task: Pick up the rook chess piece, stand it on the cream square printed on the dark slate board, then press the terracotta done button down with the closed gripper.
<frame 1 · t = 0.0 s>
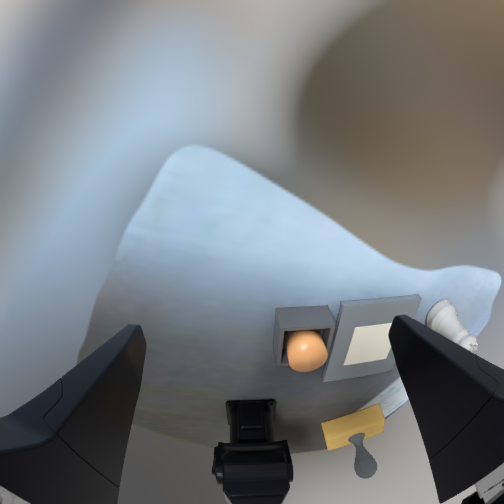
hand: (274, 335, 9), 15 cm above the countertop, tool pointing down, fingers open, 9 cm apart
button housing: (299, 327, 28), on the countertop
rook chess piece: (437, 311, 29), on the countertop
done button: (306, 350, 24), point 4 cm above the countertop, slide at 0.0 cm
rubber stamp: (350, 419, 38), on the countertop
slate board: (369, 339, 29), on the countertop
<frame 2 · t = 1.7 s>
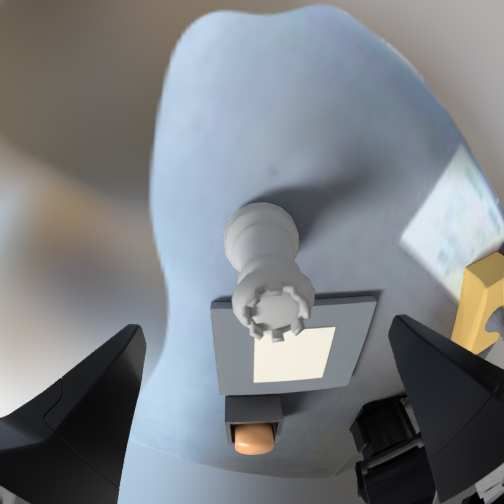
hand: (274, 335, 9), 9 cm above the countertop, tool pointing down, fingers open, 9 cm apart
button housing: (252, 409, 25), on the countertop
rook chess piece: (259, 234, 17), on the countertop
done button: (254, 437, 22), point 3 cm above the countertop, slide at 0.0 cm
rubber stamp: (473, 298, 21), on the countertop
slate board: (290, 350, 21), on the countertop
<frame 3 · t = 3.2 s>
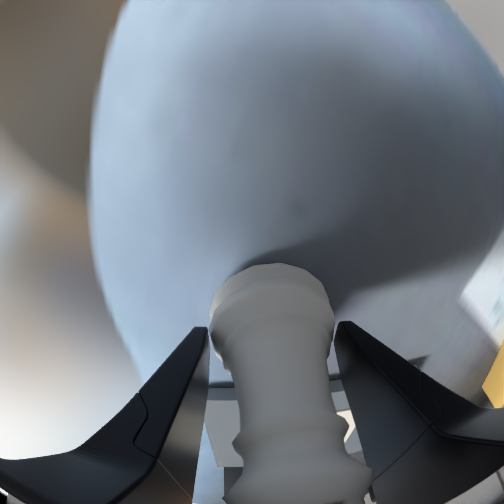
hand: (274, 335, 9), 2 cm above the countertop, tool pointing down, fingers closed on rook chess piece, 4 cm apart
button housing: (255, 472, 18), on the countertop
rook chess piece: (268, 306, 10), on the countertop, touching gripper
slate board: (305, 427, 15), on the countertop
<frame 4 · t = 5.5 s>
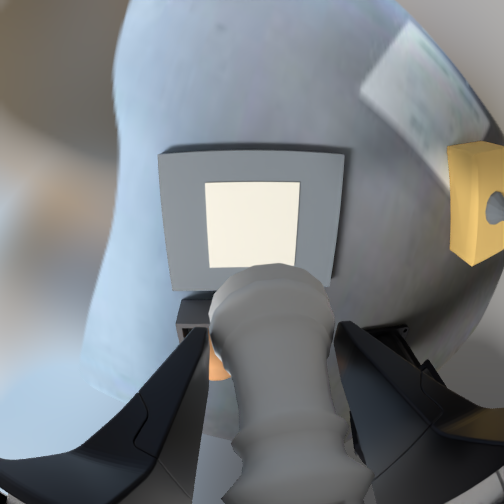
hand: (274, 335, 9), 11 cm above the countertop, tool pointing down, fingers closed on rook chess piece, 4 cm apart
button housing: (215, 324, 23), on the countertop
rook chess piece: (268, 306, 10), point 10 cm above the countertop, touching gripper
done button: (213, 354, 20), point 3 cm above the countertop, slide at 0.0 cm
rubber stamp: (466, 194, 19), on the countertop
slate board: (251, 222, 19), on the countertop
when the fingers open (4 cm above the countertop, at t = 7.6 s): rook chess piece drops 1 cm, resting on slate board.
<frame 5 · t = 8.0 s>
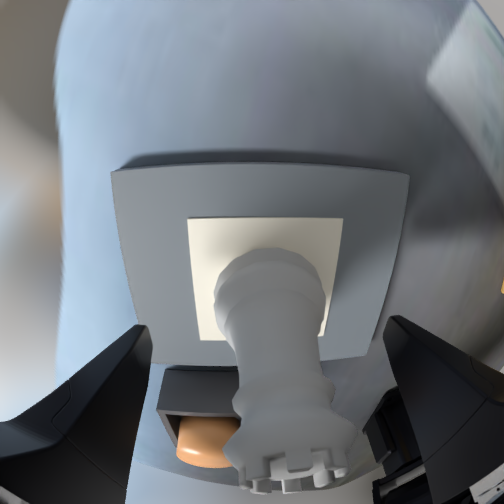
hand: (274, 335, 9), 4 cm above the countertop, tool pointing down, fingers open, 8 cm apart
button housing: (212, 395, 16), on the countertop
rook chess piece: (267, 288, 12), point 1 cm above the countertop, touching slate board
done button: (209, 441, 13), point 3 cm above the countertop, slide at 0.0 cm
slate board: (263, 276, 12), on the countertop
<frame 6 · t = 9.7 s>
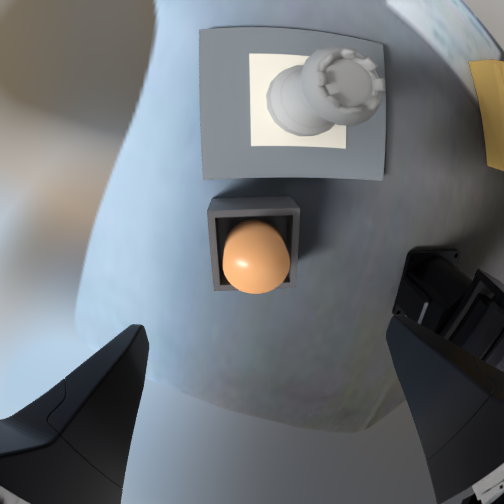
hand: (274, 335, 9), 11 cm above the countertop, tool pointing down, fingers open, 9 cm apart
button housing: (252, 233, 19), on the countertop
rook chess piece: (301, 102, 15), point 1 cm above the countertop, touching slate board
done button: (255, 255, 16), point 4 cm above the countertop, slide at 0.0 cm
rubber stamp: (493, 112, 15), on the countertop
slate board: (297, 100, 15), on the countertop
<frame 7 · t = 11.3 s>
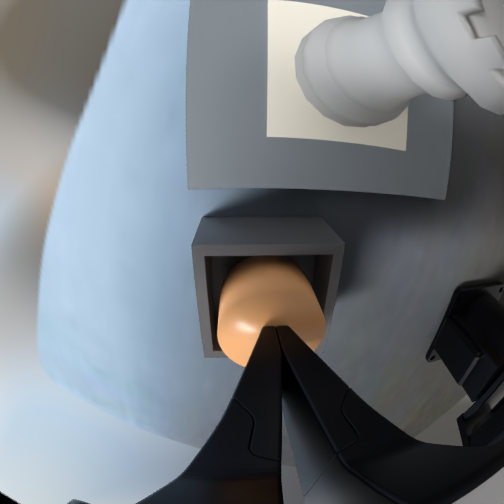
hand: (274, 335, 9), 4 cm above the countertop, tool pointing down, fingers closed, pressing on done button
button housing: (261, 270, 13), on the countertop
rook chess piece: (345, 75, 9), point 1 cm above the countertop, touching slate board
done button: (268, 313, 10), point 3 cm above the countertop, slide at 0.2 cm, touching gripper
slate board: (337, 74, 9), on the countertop
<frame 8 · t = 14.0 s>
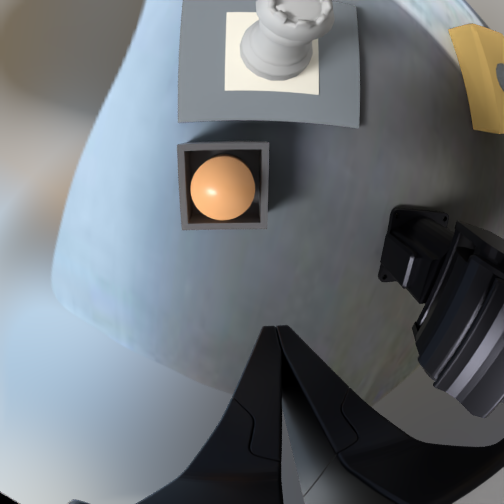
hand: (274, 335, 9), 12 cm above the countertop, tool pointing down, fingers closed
button housing: (225, 178, 18), on the countertop
rook chess piece: (274, 52, 14), point 1 cm above the countertop, touching slate board
done button: (223, 185, 16), point 2 cm above the countertop, slide at 1.0 cm
rubber stamp: (477, 79, 15), on the countertop
slate board: (271, 53, 15), on the countertop
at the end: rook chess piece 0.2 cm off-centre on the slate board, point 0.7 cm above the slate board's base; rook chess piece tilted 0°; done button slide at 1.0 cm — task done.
